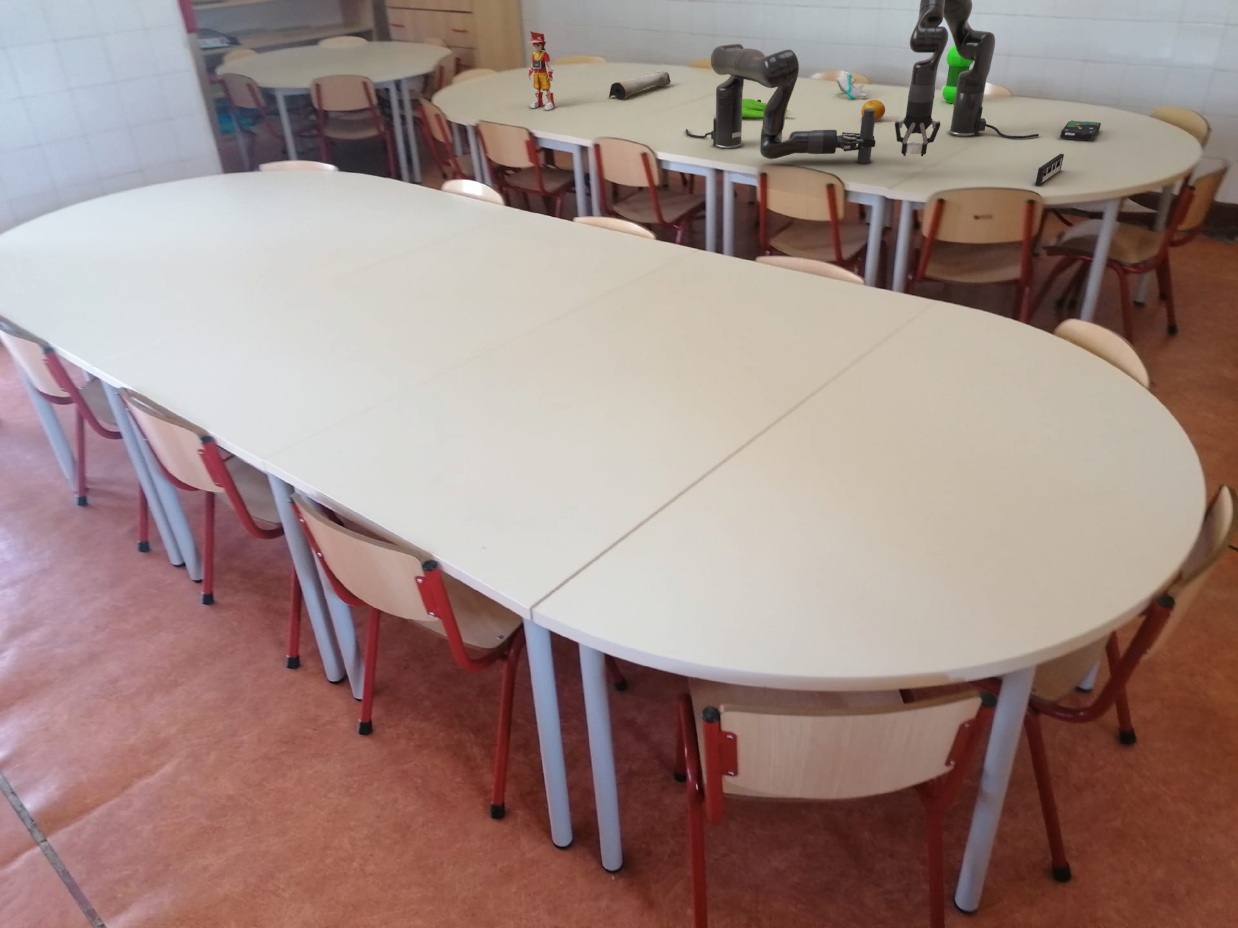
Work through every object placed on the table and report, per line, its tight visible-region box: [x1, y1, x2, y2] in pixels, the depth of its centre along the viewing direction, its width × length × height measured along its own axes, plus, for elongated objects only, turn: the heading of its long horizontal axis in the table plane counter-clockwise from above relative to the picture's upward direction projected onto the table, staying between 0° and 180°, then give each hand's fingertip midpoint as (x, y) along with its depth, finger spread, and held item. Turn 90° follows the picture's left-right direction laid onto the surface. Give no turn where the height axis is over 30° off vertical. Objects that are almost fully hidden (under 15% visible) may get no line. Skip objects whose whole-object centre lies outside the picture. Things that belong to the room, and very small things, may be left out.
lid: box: [906, 141, 922, 155], centre depth 281 cm, size 5×5×2 cm
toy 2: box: [742, 98, 793, 119], centre depth 353 cm, size 28×5×30 cm
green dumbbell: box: [942, 45, 974, 104], centre depth 348 cm, size 10×10×25 cm
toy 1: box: [527, 31, 556, 111], centre depth 374 cm, size 12×9×30 cm
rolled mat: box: [608, 71, 672, 101], centre depth 395 cm, size 30×9×10 cm
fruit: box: [860, 99, 886, 122], centre depth 337 cm, size 8×8×8 cm
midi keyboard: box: [1035, 153, 1065, 186], centre depth 273 cm, size 18×1×5 cm, turn 138°
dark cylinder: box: [856, 109, 876, 165], centre depth 293 cm, size 4×4×16 cm
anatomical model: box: [836, 70, 868, 100], centre depth 369 cm, size 15×10×10 cm
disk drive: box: [1059, 120, 1102, 141], centre depth 309 cm, size 10×3×15 cm
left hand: (874, 141), depth 294 cm, fingers closed on dark cylinder, 4 cm apart
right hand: (913, 155), depth 282 cm, fingers closed on lid, 4 cm apart
